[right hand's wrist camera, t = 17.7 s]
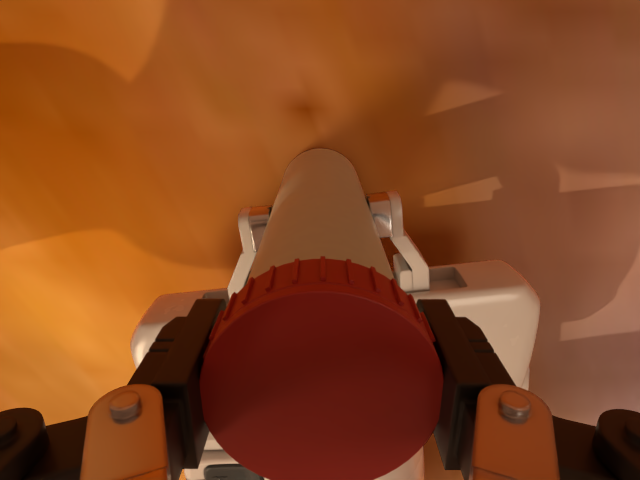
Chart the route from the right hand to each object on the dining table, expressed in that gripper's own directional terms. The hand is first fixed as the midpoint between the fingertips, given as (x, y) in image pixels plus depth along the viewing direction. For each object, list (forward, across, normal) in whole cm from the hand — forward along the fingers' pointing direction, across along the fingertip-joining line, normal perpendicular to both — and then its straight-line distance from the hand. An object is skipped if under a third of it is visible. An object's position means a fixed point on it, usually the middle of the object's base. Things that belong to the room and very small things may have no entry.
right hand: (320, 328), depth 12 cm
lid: (-3, 0, 0) cm, 3 cm away
